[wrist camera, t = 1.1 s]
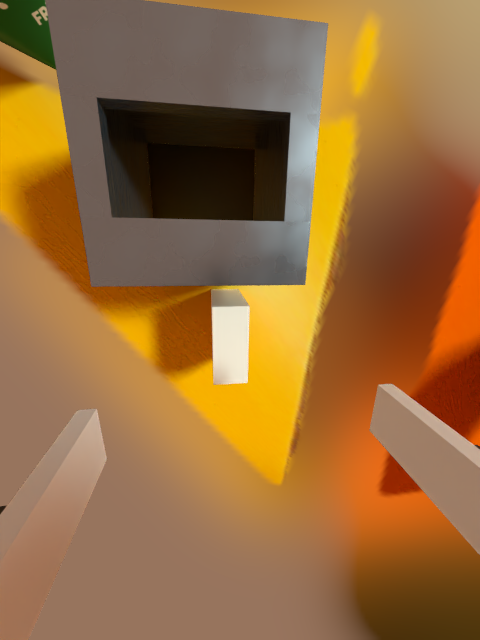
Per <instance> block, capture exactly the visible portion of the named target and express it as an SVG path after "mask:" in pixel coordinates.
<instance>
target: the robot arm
mask: <svg viewBox="0 0 480 640" xmlns="http://www.w3.org/2000/svg"><path fill="white" fill-rule="evenodd" d="M370 431H371V433H372V434H373V435H374V436H375V437H376V438H377V439H378V440H379V442H380V443H381V444H382V445H383V446H384V447H385V448H386V450H387V451H388V452H389V453H390V454H391V455H392V456H393V458H394V459H395V460H396V461H397V462H398V463H399V464H400V465H401V467H402V468H403V469H404V470H405V471H406V472H407V473H408V474H409V476H410V477H411V478H412V479H413V480H414V481H415V482H416V484H417V485H418V486H419V487H420V488H421V489H422V490H423V491H424V493H425V494H426V495H427V496H428V497H429V498H430V499H431V500H432V501H433V503H434V504H435V505H436V506H437V507H438V508H439V509H440V511H441V512H442V513H443V514H444V515H445V516H446V517H447V518H448V519H449V521H450V522H451V523H452V524H453V525H454V526H455V528H457V530H458V531H459V532H460V533H461V534H462V535H463V536H464V538H465V539H466V540H467V541H468V542H469V543H470V545H471V546H472V547H473V548H474V549H475V550H476V551H477V552H478V554H479V555H480V446H478V445H473V444H472V443H470V442H469V441H468V440H466V439H465V438H464V437H462V436H461V435H460V434H458V433H457V432H456V431H454V430H453V429H452V428H450V427H449V426H448V425H446V424H445V423H444V422H442V421H441V420H440V419H438V418H437V417H436V416H434V415H433V414H432V413H430V412H429V411H428V410H426V409H425V408H424V407H422V406H421V405H420V404H418V403H417V402H416V401H414V400H413V399H412V398H410V397H409V396H408V395H406V394H405V393H404V392H402V391H401V390H400V389H398V388H397V387H396V386H394V385H393V384H384V385H378V389H377V394H376V399H375V404H374V410H373V415H372V420H371V425H370ZM106 460H107V457H106V452H105V447H104V443H103V437H102V432H101V427H100V422H99V417H98V412H97V409H86V410H77V411H76V413H75V414H74V415H73V417H72V418H71V420H70V421H69V422H68V424H67V425H66V426H65V428H64V429H63V430H62V432H61V433H60V434H59V436H58V437H57V438H56V440H55V441H54V443H53V444H52V445H51V447H50V448H49V450H48V451H47V452H46V454H45V455H44V456H43V458H42V459H41V460H40V462H39V463H38V464H37V466H36V467H35V468H34V470H33V471H32V472H31V474H30V475H29V476H28V478H27V479H26V481H25V482H24V483H23V485H22V486H21V487H20V489H19V490H18V492H17V493H16V494H15V495H14V497H13V498H12V500H11V501H10V502H9V504H8V505H7V506H1V507H0V640H28V639H29V637H30V635H31V632H32V630H33V628H34V626H35V624H36V621H37V619H38V617H39V614H40V612H41V609H42V607H43V605H44V603H45V601H46V598H47V596H48V594H49V591H50V589H51V587H52V585H53V582H54V580H55V578H56V575H57V573H58V571H59V568H60V566H61V564H62V562H63V559H64V557H65V555H66V552H67V550H68V548H69V545H70V543H71V541H72V539H73V536H74V534H75V532H76V529H77V527H78V525H79V522H80V520H81V518H82V516H83V513H84V511H85V509H86V506H87V504H88V502H89V500H90V497H91V495H92V493H93V490H94V488H95V486H96V484H97V481H98V479H99V477H100V474H101V472H102V470H103V467H104V465H105V463H106Z"/></svg>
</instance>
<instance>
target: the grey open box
mask: <svg viewBox="0 0 480 640" xmlns="http://www.w3.org/2000/svg"><path fill="white" fill-rule="evenodd" d="M45 3H46V9H47V15H48V21H49V27H50V33H51V40H52V46H53V52H54V58H55V64H56V70H57V77H58V83H59V89H60V95H61V101H62V107H63V114H64V120H65V126H66V132H67V138H68V145H69V151H70V157H71V163H72V169H73V175H74V182H75V188H76V194H77V200H78V206H79V212H80V219H81V225H82V231H83V237H84V243H85V249H86V256H87V262H88V268H89V274H90V280H91V286H220V285H305V280H306V269H307V257H308V246H309V235H310V223H311V212H312V200H313V189H314V178H315V166H316V155H317V144H318V132H319V121H320V109H321V98H322V86H323V75H324V63H325V53H326V52H325V51H326V41H327V29H328V23H322V22H314V21H306V20H297V19H289V18H281V17H273V16H265V15H257V14H249V13H241V12H233V11H225V10H217V9H208V8H200V7H193V6H184V5H177V4H169V3H160V2H152V1H144V0H45ZM147 143H156V144H173V145H190V146H207V147H224V148H241V149H255V173H254V212H253V221H241V220H199V219H157V218H153V210H152V198H151V186H150V174H149V161H148V149H147Z"/></svg>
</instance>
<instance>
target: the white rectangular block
mask: <svg viewBox="0 0 480 640" xmlns="http://www.w3.org/2000/svg"><path fill="white" fill-rule="evenodd" d="M211 313H212V354H213V379H214V385H216V384H234V383H248V345H249V305H248V303H247V302H246V300H245V299H244V297H243V296H242V294H241V293H240V291H239V290H238V289H211Z"/></svg>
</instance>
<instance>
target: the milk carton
mask: <svg viewBox="0 0 480 640" xmlns="http://www.w3.org/2000/svg"><path fill="white" fill-rule="evenodd" d="M0 41H1V42H3V43H5V44H7V45H9V46H11V47H13V48H15V49H17V50H19V51H20V52H22V53H24V54H26V55H28V56H30V57H32V58H34V59H36V60H38V61H40V62H42V63H44V64H46V65H48V66H50V67H52V68H54V69H56V64H55V58H54V52H53V46H52V40H51V33H50V27H49V21H48V15H47V9H46V3H45V0H0Z"/></svg>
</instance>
